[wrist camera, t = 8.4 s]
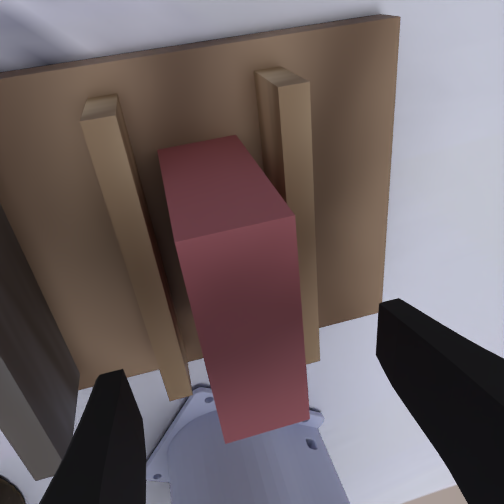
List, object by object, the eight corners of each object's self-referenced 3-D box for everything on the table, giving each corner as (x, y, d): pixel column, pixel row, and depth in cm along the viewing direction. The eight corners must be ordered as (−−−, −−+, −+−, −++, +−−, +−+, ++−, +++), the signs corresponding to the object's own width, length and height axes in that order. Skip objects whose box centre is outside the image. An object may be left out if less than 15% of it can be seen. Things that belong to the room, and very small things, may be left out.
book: (235, 134, 17) (295, 215, 11) (258, 298, 21) (309, 419, 15) (157, 149, 16) (174, 242, 10) (197, 314, 21) (225, 444, 15)
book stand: (380, 14, 17) (497, 28, 12) (368, 295, 25) (436, 382, 19) (-123, 91, 15) (-270, 154, 9) (36, 379, 22) (7, 506, 17)
